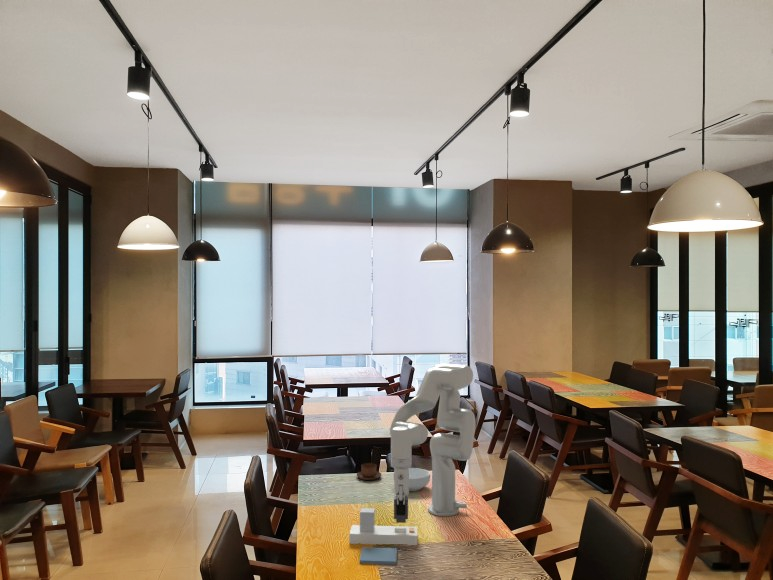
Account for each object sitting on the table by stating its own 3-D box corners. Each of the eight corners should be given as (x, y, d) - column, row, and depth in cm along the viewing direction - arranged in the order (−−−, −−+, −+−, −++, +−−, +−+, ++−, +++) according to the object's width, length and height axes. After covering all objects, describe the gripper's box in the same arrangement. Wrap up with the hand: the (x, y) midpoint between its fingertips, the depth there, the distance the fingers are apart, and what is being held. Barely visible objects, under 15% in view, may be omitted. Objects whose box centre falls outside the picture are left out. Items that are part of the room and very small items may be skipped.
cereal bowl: (412, 480, 280) (412, 465, 280) (437, 488, 267) (437, 473, 267) (385, 487, 268) (386, 472, 268) (411, 497, 256) (411, 480, 256)
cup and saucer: (359, 473, 289) (359, 461, 289) (382, 475, 287) (383, 462, 288) (354, 481, 277) (354, 468, 277) (379, 482, 276) (379, 469, 276)
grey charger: (374, 531, 212) (374, 508, 212) (373, 536, 208) (374, 512, 208) (360, 531, 213) (361, 508, 213) (359, 535, 209) (360, 512, 209)
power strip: (417, 536, 214) (417, 525, 214) (417, 545, 206) (417, 533, 206) (351, 534, 215) (351, 523, 215) (349, 543, 207) (349, 532, 207)
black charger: (408, 518, 212) (408, 495, 212) (407, 523, 208) (408, 499, 208) (394, 518, 212) (394, 495, 212) (393, 522, 208) (394, 499, 208)
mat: (396, 551, 201) (396, 548, 201) (396, 564, 191) (396, 561, 191) (362, 550, 201) (362, 547, 202) (359, 563, 192) (359, 560, 192)
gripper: (411, 469, 202) (411, 521, 202) (411, 455, 218) (411, 504, 218) (389, 468, 202) (389, 521, 202) (391, 455, 219) (391, 503, 219)
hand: (401, 511), depth 210 cm, fingers closed on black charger, 4 cm apart
